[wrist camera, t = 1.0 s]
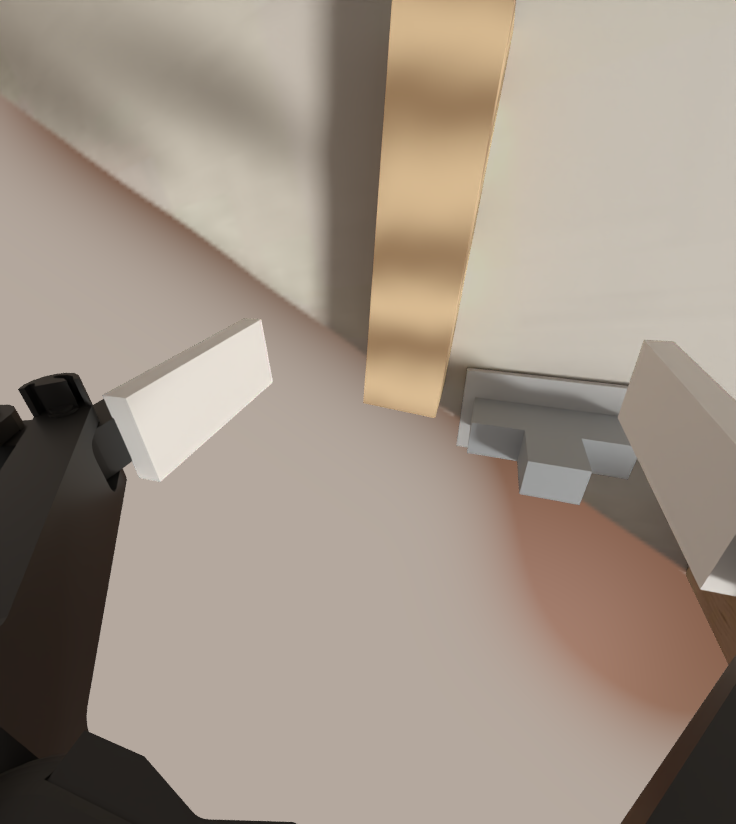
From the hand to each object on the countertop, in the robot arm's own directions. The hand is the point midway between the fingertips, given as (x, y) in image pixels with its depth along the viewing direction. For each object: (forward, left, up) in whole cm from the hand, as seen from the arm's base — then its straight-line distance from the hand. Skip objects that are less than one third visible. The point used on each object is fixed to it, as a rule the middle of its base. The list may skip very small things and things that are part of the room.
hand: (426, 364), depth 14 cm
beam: (-2, -3, -20) cm, 20 cm away
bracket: (+12, +8, -19) cm, 24 cm away
